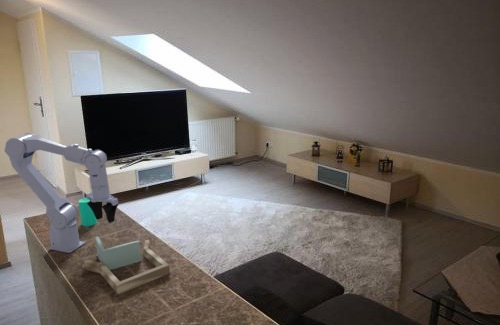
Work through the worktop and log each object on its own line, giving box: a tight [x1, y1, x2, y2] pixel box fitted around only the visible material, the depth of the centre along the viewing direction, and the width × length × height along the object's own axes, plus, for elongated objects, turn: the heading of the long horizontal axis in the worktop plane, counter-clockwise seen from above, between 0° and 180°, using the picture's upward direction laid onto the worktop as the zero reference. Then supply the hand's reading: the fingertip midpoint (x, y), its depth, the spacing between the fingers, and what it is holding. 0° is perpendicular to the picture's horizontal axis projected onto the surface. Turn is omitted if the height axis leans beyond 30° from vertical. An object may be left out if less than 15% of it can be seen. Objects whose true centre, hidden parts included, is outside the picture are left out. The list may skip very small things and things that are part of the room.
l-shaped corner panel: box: [94, 236, 142, 271], centre depth 130 cm, size 12×12×8 cm
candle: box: [78, 196, 98, 227], centre depth 158 cm, size 6×6×12 cm
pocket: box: [84, 239, 171, 295], centre depth 123 cm, size 21×23×3 cm
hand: (105, 220), depth 137 cm, fingers open, 6 cm apart
